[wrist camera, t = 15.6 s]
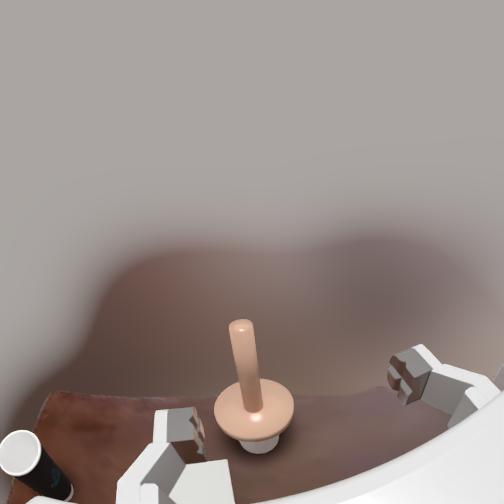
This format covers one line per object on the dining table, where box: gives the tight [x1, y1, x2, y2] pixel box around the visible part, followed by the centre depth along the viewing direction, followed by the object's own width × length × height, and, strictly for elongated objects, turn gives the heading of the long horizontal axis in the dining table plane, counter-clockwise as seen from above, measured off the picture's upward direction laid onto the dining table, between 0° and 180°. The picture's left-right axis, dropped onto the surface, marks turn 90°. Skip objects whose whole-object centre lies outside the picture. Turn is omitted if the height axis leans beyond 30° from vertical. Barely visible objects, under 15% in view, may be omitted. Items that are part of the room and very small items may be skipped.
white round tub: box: [239, 435, 279, 454], centre depth 35 cm, size 7×7×7 cm
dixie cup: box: [0, 430, 74, 502], centre depth 22 cm, size 8×8×11 cm
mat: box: [169, 459, 235, 504], centre depth 27 cm, size 12×12×1 cm
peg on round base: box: [214, 319, 294, 442], centre depth 32 cm, size 10×10×14 cm
